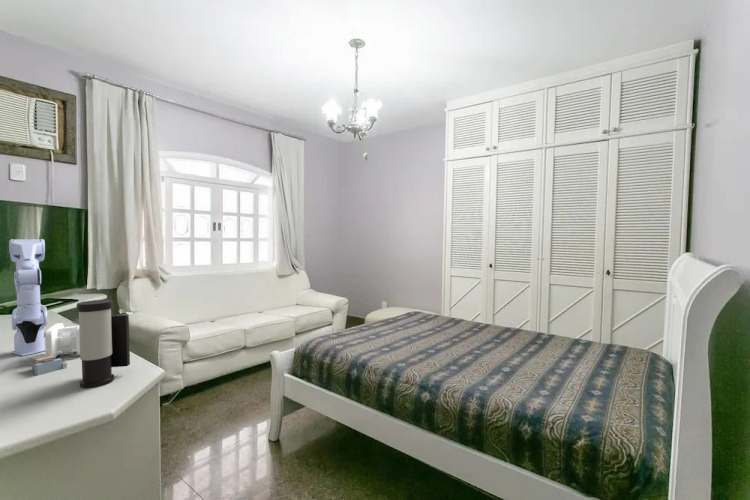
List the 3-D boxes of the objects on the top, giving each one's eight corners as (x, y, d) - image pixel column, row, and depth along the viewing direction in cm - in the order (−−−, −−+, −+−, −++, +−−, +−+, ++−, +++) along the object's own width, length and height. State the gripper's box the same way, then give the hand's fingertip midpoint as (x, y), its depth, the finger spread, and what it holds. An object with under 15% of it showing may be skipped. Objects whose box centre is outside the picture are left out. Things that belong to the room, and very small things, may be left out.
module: (31, 370, 116) (31, 358, 116) (47, 365, 120) (46, 354, 120) (40, 373, 114) (39, 360, 113) (56, 368, 117) (55, 356, 117)
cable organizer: (82, 358, 127) (81, 326, 127) (43, 363, 122) (42, 330, 122) (91, 347, 140) (90, 318, 140) (56, 351, 135) (55, 322, 135)
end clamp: (34, 374, 112) (34, 362, 112) (59, 367, 118) (58, 356, 118) (37, 375, 111) (37, 363, 111) (62, 368, 117) (61, 357, 117)
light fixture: (65, 390, 100) (62, 305, 99) (88, 375, 111) (86, 299, 110) (112, 386, 103) (109, 303, 102) (130, 372, 113) (128, 297, 112)
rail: (36, 361, 124) (36, 356, 124) (39, 360, 125) (39, 355, 125) (63, 368, 117) (62, 364, 117) (66, 367, 118) (66, 363, 118)
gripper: (3, 304, 119) (4, 343, 120) (23, 307, 113) (25, 348, 114) (30, 300, 126) (31, 337, 126) (51, 304, 120) (52, 342, 120)
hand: (30, 342), depth 120 cm, fingers closed
